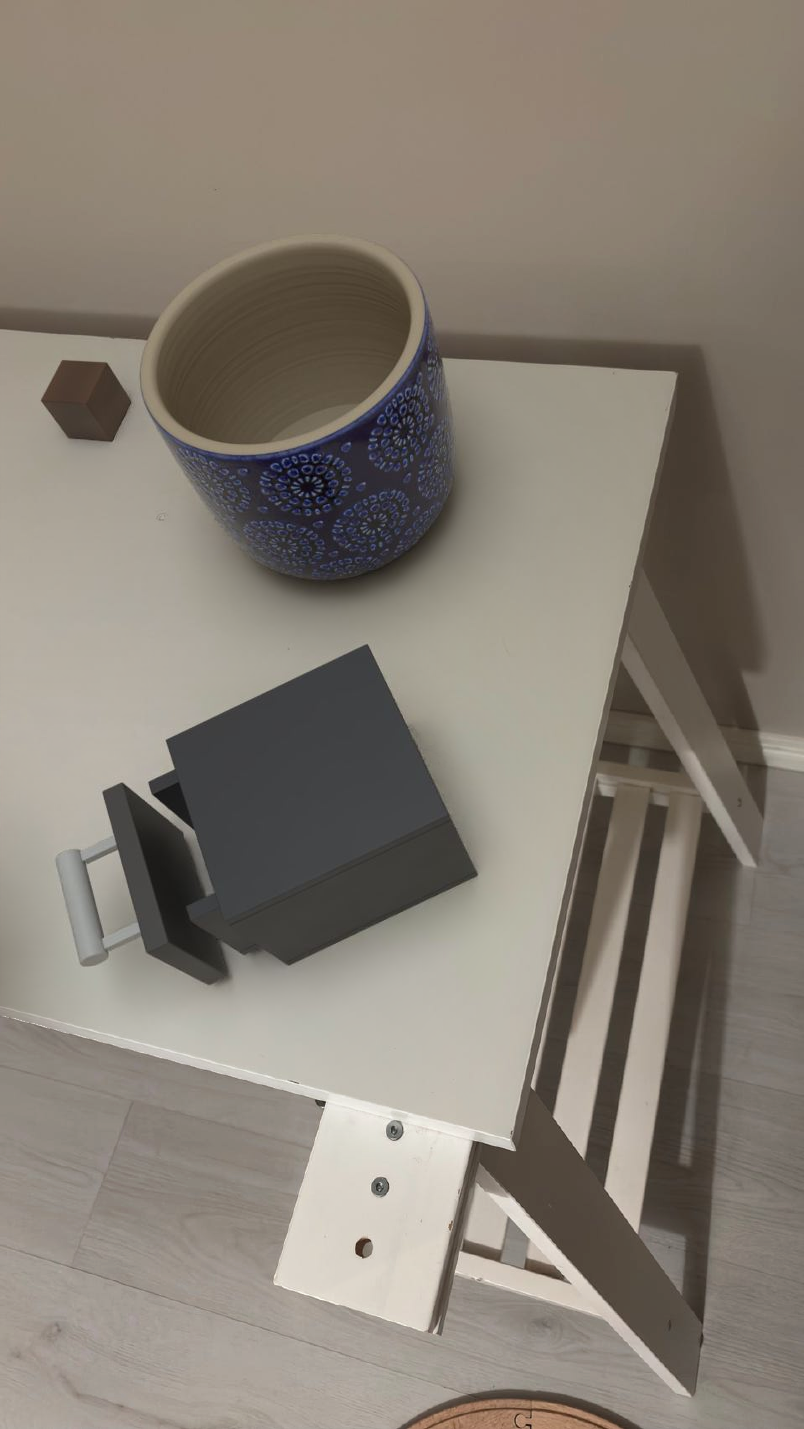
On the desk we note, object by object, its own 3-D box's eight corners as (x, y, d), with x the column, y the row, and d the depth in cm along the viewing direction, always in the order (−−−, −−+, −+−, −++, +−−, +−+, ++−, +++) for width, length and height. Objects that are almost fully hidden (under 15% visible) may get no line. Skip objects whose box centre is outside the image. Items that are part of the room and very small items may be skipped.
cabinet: (287, 966, 53) (223, 922, 45) (231, 805, 58) (164, 739, 50) (478, 875, 53) (448, 814, 45) (405, 722, 58) (367, 643, 50)
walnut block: (67, 438, 75) (39, 400, 72) (88, 398, 77) (61, 359, 73) (112, 441, 74) (86, 403, 71) (132, 401, 76) (107, 361, 72)
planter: (484, 407, 68) (447, 217, 55) (454, 613, 61) (403, 452, 48) (260, 415, 72) (176, 241, 59) (208, 609, 65) (100, 460, 52)
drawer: (143, 1017, 53) (70, 989, 46) (103, 868, 57) (32, 823, 51) (383, 902, 53) (346, 858, 46) (325, 763, 57) (283, 703, 51)
